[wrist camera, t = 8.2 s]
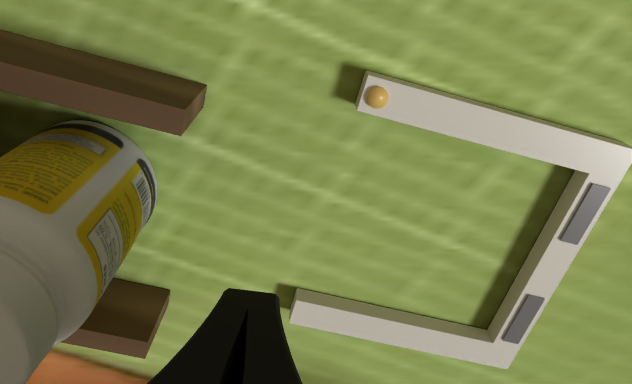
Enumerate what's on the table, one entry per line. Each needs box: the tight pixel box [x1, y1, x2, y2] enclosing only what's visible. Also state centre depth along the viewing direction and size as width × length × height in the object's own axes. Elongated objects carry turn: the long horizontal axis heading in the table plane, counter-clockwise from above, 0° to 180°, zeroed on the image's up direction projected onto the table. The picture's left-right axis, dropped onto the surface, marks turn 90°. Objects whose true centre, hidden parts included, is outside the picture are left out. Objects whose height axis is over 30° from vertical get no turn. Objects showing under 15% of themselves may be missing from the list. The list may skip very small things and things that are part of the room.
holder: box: [0, 30, 207, 359], centre depth 16 cm, size 10×8×3 cm
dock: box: [289, 70, 632, 369], centre depth 18 cm, size 10×10×1 cm
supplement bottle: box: [0, 120, 157, 384], centre depth 14 cm, size 5×5×8 cm
